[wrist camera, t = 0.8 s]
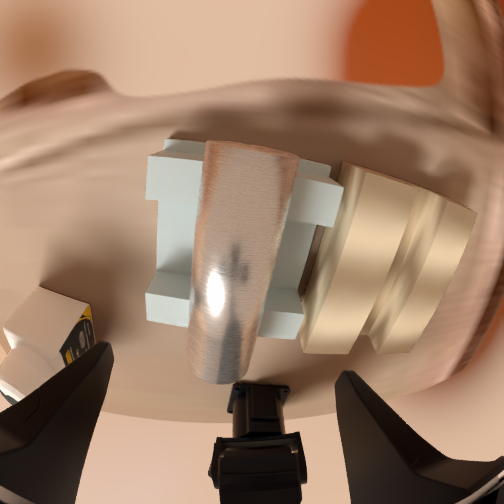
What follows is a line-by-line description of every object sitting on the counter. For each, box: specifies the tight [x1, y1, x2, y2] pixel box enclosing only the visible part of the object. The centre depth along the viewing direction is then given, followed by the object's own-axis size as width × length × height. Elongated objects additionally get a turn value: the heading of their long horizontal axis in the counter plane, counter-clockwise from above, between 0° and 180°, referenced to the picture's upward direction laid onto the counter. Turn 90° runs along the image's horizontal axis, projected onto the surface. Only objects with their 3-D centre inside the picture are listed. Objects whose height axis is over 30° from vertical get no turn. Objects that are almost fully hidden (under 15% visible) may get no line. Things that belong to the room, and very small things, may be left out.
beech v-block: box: [298, 162, 478, 354], centre depth 19 cm, size 14×11×4 cm
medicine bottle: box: [0, 286, 96, 405], centre depth 18 cm, size 7×7×12 cm
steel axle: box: [187, 140, 300, 384], centre depth 15 cm, size 14×4×4 cm, turn 170°
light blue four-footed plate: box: [145, 139, 344, 339], centre depth 18 cm, size 13×11×4 cm
